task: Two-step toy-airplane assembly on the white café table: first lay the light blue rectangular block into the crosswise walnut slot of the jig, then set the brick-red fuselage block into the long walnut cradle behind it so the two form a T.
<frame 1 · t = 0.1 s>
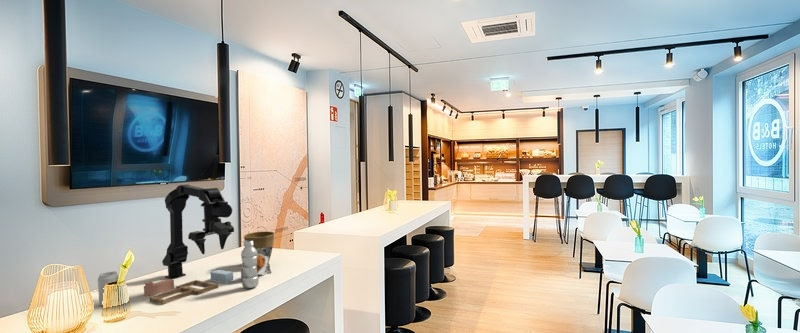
hand: (213, 251, 167), 14 cm above the table, tool pointing down, fingers open, 9 cm apart
plant pot: (260, 265, 195), on the table
meal: (258, 278, 174), on the table
plastic bottle: (250, 288, 160), on the table
light blue rectangular block: (222, 280, 172), on the table
jig: (174, 296, 152), on the table
fuselage block: (159, 292, 159), on the table
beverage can: (109, 304, 147), on the table
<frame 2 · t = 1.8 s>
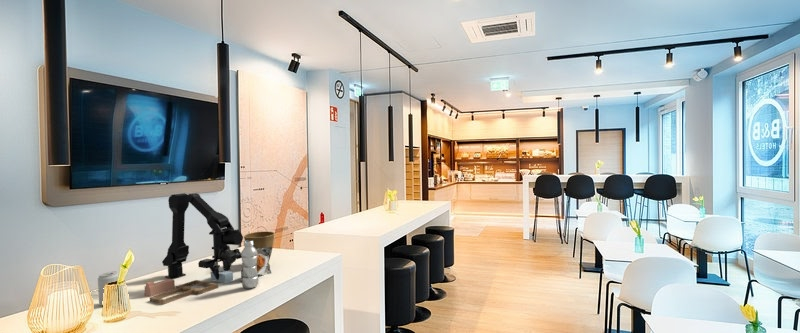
hand: (221, 277, 172), 1 cm above the table, tool pointing down, fingers closed on light blue rectangular block, 4 cm apart
light blue rectangular block: (222, 280, 172), on the table, touching gripper
everything else where it was.
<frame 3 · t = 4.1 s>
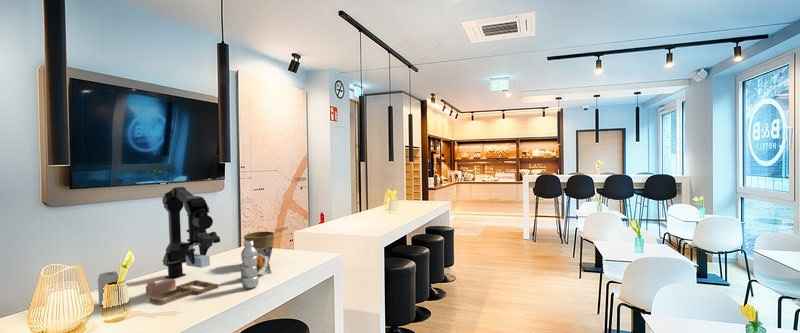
hand: (197, 262, 161), 11 cm above the table, tool pointing down, fingers closed on light blue rectangular block, 4 cm apart
light blue rectangular block: (198, 265, 161), point 10 cm above the table, touching gripper
everything else where it was.
when the fingers open (3 cm above the table, at t = 5.9 s): light blue rectangular block drops 2 cm, resting in jig.
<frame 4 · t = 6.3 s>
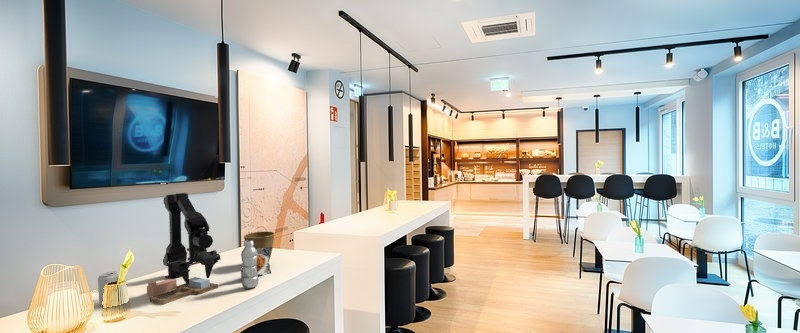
hand: (198, 281, 161), 3 cm above the table, tool pointing down, fingers open, 9 cm apart
light blue rectangular block: (198, 288, 162), resting in jig
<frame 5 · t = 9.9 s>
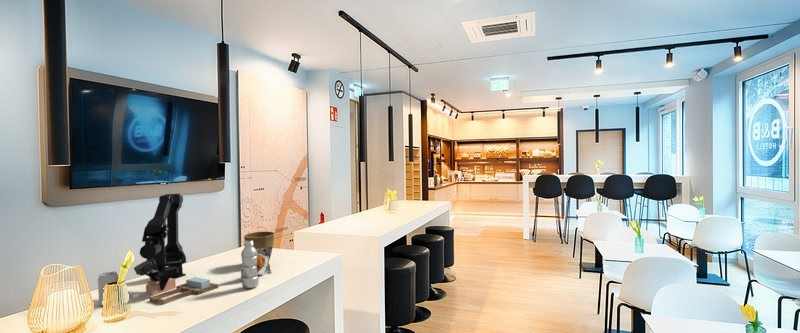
hand: (159, 289, 159), 1 cm above the table, tool pointing down, fingers closed on fuselage block, 4 cm apart
fuselage block: (161, 291, 159), on the table, touching gripper
everything else where it was.
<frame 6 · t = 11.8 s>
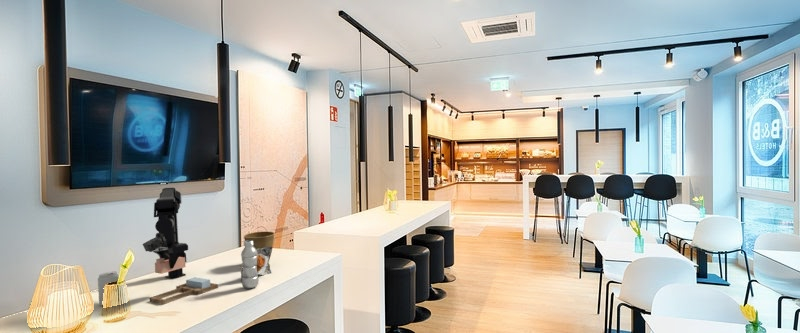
hand: (168, 267, 153), 12 cm above the table, tool pointing down, fingers closed on fuselage block, 4 cm apart
fuselage block: (170, 269, 154), point 11 cm above the table, touching gripper
everything else where it was.
when the fingers open (3 cm above the table, at t = 13.9 s): fuselage block stays where it is, resting on jig.
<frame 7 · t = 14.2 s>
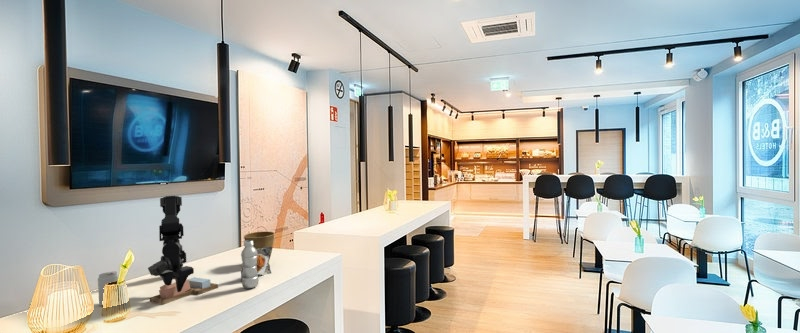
hand: (173, 290, 152), 3 cm above the table, tool pointing down, fingers open, 7 cm apart
fuselage block: (176, 294, 153), point 1 cm above the table, tilted 9°, touching jig
everything else where it was.
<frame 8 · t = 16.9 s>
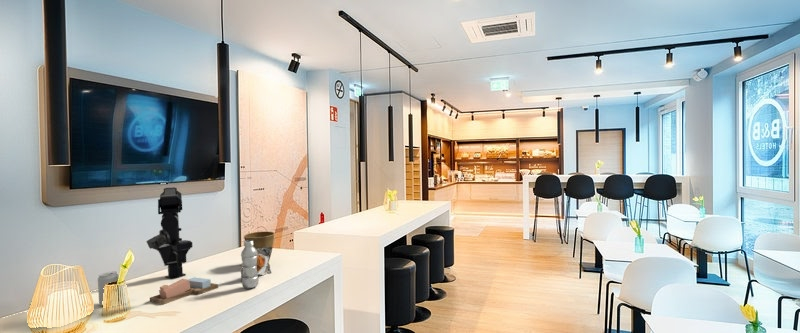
hand: (172, 265, 152), 13 cm above the table, tool pointing down, fingers open, 9 cm apart
nothing on the table moved.
at the end: fuselage block 1.2 cm off-centre on the jig, point 0.8 cm above the jig's base; light blue rectangular block 0.0 cm from the target spot on the jig, point 0.0 cm above the jig's base; fuselage block tilted 9° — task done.
